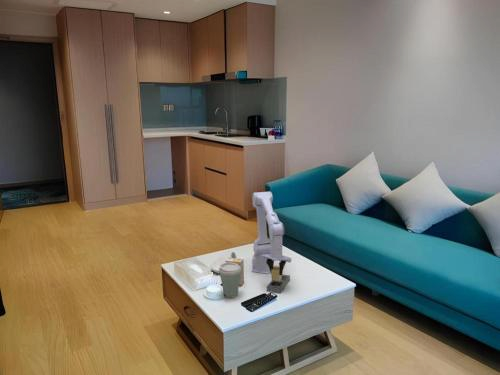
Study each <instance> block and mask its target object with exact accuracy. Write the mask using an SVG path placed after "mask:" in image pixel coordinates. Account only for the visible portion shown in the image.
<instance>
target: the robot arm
mask: <svg viewBox="0 0 500 375" xmlns="http://www.w3.org/2000/svg"><path fill="white" fill-rule="evenodd" d="M251 199H252V206H253V208H255V210H256V219H257V221H256V222H257V223H256V224H257V235H258V236H257V238H256V239H255V240H253V255H252V259H251V264H252V265H251V272H254V273H260V274H270V273H271V269H272V268H273V267H274V266H275V265H274V262H276V261H277V262H278V261H279V263H278V265H279V266H278V267H280V276H281V275H282V274H283V273H284V272H283V271H284V268H285V265H286V264H287V263H291V262H292V257H290V256H286V255H283V236H284V235H285V226H284V224H283V222H281V221H280V219H279V217H278V215H277V212H275V211H274V208H273V206H272V203H273V200H274V197H273V193H272V192H271V191H270V190H269V191H261V192H258V191H257V192H255V191H254V192H253V193H252V198H251ZM267 225H268V226H267ZM267 227H268V231H267ZM268 234H269V237H268Z"/></svg>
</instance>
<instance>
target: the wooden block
mask: <svg viewBox="0 0 500 375" xmlns="http://www.w3.org/2000/svg"><path fill="white" fill-rule="evenodd" d="M270 275H271V276H270V278H271V280H270V281H272V280H276V281H280V279H281V278H282V275H281V276H280V267H279V266H276V265H273V268H272V269H271V272H270Z"/></svg>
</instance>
